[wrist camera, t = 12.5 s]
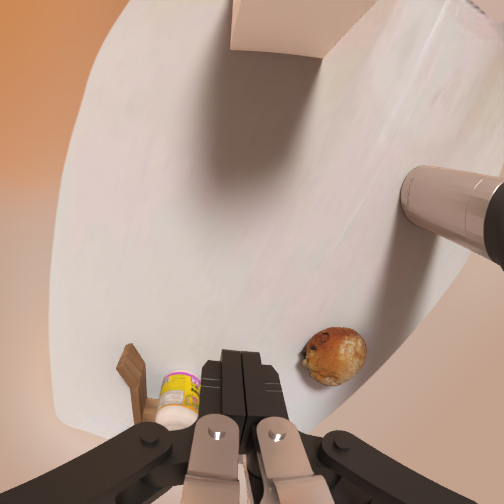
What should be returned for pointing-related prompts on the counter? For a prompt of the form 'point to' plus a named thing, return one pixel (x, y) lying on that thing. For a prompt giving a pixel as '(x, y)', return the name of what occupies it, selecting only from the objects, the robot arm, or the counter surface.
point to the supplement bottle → (179, 400)
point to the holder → (137, 385)
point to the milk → (293, 25)
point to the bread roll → (334, 355)
